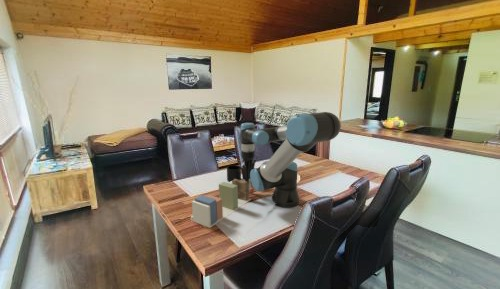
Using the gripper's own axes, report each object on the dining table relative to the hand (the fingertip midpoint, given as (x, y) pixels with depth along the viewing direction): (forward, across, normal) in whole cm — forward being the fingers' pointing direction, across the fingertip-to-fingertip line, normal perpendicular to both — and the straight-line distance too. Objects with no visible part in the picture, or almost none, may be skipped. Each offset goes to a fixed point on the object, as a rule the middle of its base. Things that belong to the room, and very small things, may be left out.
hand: (248, 189), depth 148 cm
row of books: (+3, +23, 0) cm, 23 cm away
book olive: (+2, +19, +1) cm, 19 cm away
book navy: (+2, +36, +1) cm, 36 cm away
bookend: (+2, +8, 0) cm, 8 cm away
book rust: (+2, +31, +1) cm, 31 cm away
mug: (+4, -14, -20) cm, 25 cm away
